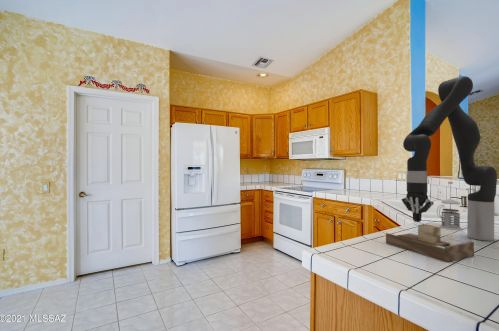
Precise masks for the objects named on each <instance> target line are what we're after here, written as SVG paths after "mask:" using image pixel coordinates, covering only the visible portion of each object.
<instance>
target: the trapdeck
mask: <svg viewBox="0 0 499 331" xmlns="http://www.w3.org/2000/svg"><path fill="white" fill-rule="evenodd" d="M385 243H386V244H388V245H391V246H395V247H398V248H402V249H404V250H408V251H412V252H415V253H418V254H421V255H423V256H427V257H429V258H430V257H431V258H434V259H437V260H440V261H443V262H446V263H449V262H453V261H458V260H462V259H463V260H464V259H466V258H471V257H475V242H474V241H468V242H462V243H457V244H452V245H451V244H450V242H447V241H443V240H441V242H436V243H429V242H425V241H422V240H418V234H415V233H411V232H410V233H404V234H397V235H395V234H391V233H387V232H386V233H385Z"/></svg>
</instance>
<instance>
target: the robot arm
mask: <svg viewBox="0 0 499 331" xmlns="http://www.w3.org/2000/svg"><path fill="white" fill-rule="evenodd" d="M473 88H474V84H473V80H472V78H470V77H469V76H466V75H463V76H458V77H457V76H456V77H454V78H451V79H447V80H445V81H442V82H441V83H440V84H439V85H438V89H437V94H438V97H439V101H440V103H439V104H437V105H436V106H435V107H433V108H432V109H431V110H430V111H428V113H427V114H426V115H425V116H424V118H423V119H422V120H421V121H420V123H419V125H417V127H415V128H414V129H413V130H412V131H411V132H410V133H409V134H408V135H407V136H405V138H404V140H403V143H402V144H403V145H402V147H403V149H404V150H405V151H407V152H411V153H412V152H414V153H413V156H412V157H408V159H407V160H406V161H407V162H406V164H407V165H406V166H407V167H406V195H405V197H404V198H401V201H402V204H403V205H404V206H405V207H406V209H407V211H410V212H411V213H412V220H413V222H416V223H420V222H421V221H422V214H423V213H427V211H428V210H429V209H431V207H433V205H434V203H435V202H434V201H432V200H430V199H429V195H428V172H427V161H428V158H429V156H430V155H429V154H430V152H431V149H432V140H431V138H430V137H432V136H433V135H435V133H436V132H438V130H439V128H440V127H441V126H442V124H444V121H445V120H446V119H447V120H448V123H449V126H450V129H451V133H452V138H453V141H454V143H455V147H456V150H457V153H458V154H457V155H458V156H459V162H460V169H461V174H462V178H463V181H464V183H465V184H466V185H469V186H474V187H479V189H478V191H475V192H471V193H468V194H467V226H466V227H467V229H466V230H467V235H466V236H467V237H468V238H470V239H474V240H480V241H484V242H485V241H487V242H488V241H489V242H491V241H495V198H496V195H497V185H498V184H497V183H498V172H497V170H496V168H494V167H493V166H489V165H476V164H475V160H474V157H475V156H474V155H475V152H476V150H477V149H478V147H479V144H480V142H481V137H482V136H481V133H480V130H479V126H478V124H477V121H475V120H474V119H473V118H472V116H470V115H468V113H466V111H464V110H463V109H462V107H461V106H460V104H461V103H462V102H463V101H464V100H465V99H466V98H467V97H469V95H470V94H471V93H472V91H473Z"/></svg>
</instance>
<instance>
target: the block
mask: <svg viewBox="0 0 499 331" xmlns="http://www.w3.org/2000/svg"><path fill="white" fill-rule="evenodd" d="M439 226H440V225H439ZM439 226H437V225H433V224H428V223H424V224H418V225H417V235H418V240H422V241H425V242H429V243H436V242H441V241H442V240H441V232H442V231H441V229H442V228H441V227H439Z"/></svg>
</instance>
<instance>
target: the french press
mask: <svg viewBox="0 0 499 331" xmlns="http://www.w3.org/2000/svg"><path fill="white" fill-rule="evenodd" d="M448 184H450V186H449V187H450V192H449V196H450V198H449V199H445V200H442V201H441V203H442V204H440V205H439V206H438V207H437V209H436V214H437V216H439V218H440V219H441V224H440V225H439V226H440V227H441V229H446V230H450V231H461V230H462V231H463V229H462V227H461V226H460V225H461V224H460V223H461V217H460V216H461V214H460V213H459V212H460V210H459V209H455V208H454V209H453V208H452V207H451V206H452V205H460V204H461V202H460V201H457V200H455V199H452V198H451V197H452V194H451V193H452V185H453V184H454V182H453V181H448ZM444 204H445V205H448V204H449V205H450V206H449V208H445V207H446V206H445V205H444ZM439 207H440V208H439ZM441 208H442V211H441ZM440 211H441V212H440ZM438 212H439V213H438Z"/></svg>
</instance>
